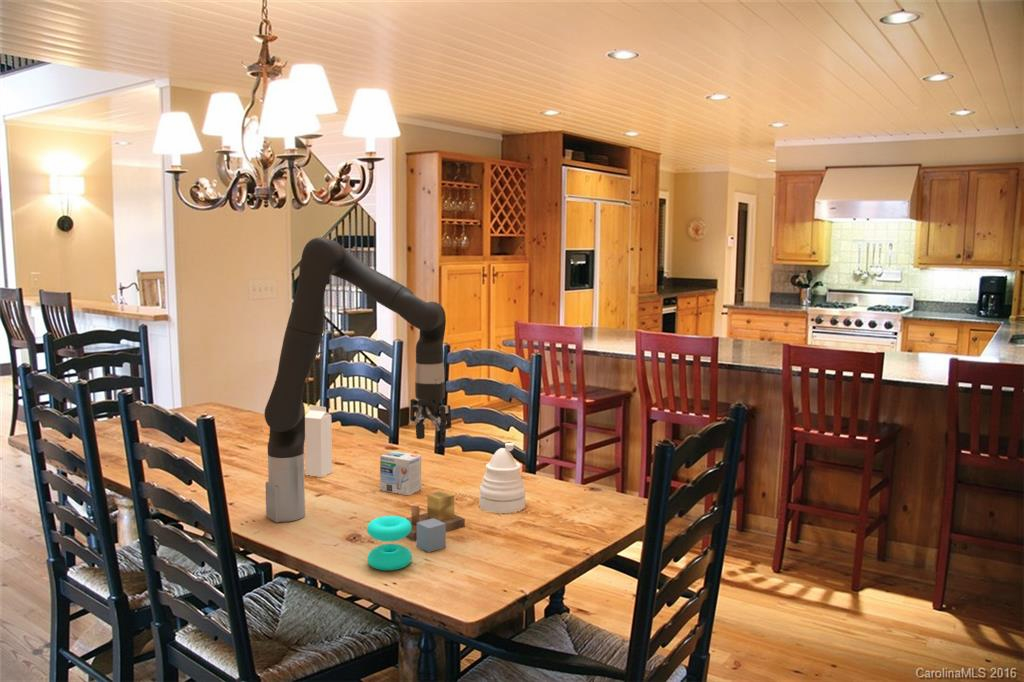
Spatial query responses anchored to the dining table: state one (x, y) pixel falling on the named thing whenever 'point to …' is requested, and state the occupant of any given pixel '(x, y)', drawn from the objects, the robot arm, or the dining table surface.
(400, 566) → the donuts
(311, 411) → the milk
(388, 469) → the light bulb box
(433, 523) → the pale grey cube
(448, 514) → the brown wooden stand
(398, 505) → the dining table surface
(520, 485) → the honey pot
